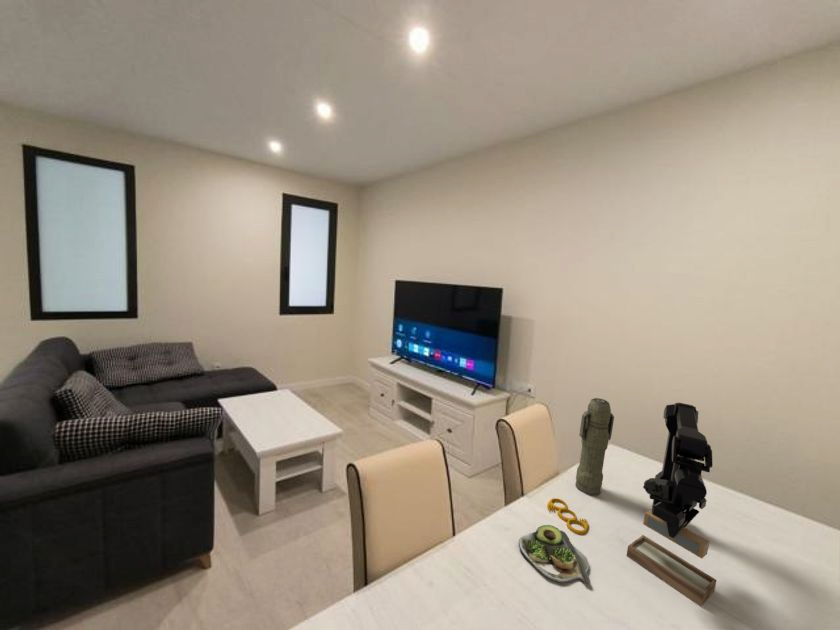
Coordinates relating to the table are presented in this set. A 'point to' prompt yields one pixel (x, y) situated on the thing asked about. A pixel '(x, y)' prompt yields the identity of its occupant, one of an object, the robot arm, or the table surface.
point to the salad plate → (555, 554)
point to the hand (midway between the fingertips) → (674, 534)
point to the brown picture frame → (672, 569)
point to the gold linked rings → (568, 520)
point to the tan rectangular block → (678, 535)
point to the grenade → (594, 445)
